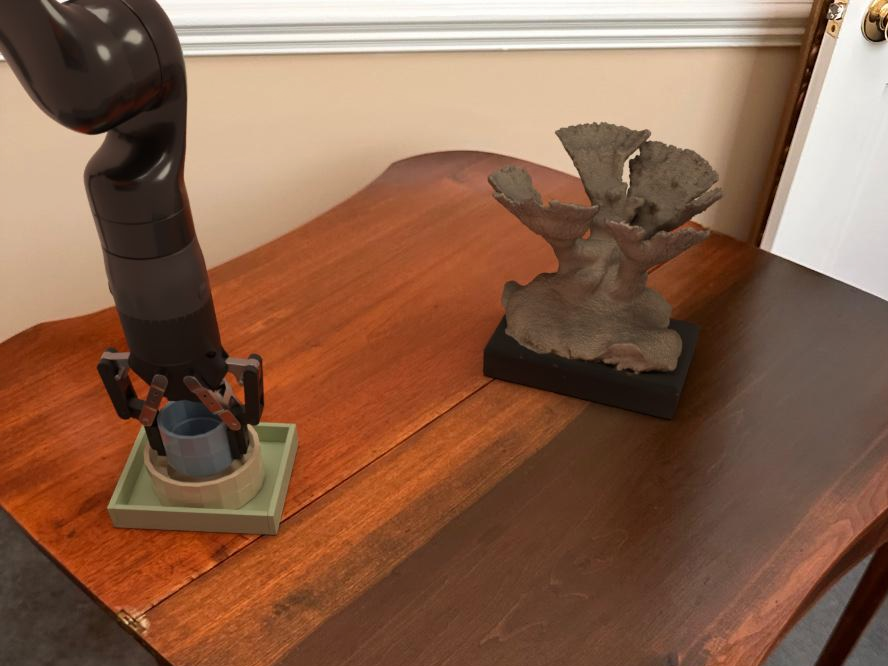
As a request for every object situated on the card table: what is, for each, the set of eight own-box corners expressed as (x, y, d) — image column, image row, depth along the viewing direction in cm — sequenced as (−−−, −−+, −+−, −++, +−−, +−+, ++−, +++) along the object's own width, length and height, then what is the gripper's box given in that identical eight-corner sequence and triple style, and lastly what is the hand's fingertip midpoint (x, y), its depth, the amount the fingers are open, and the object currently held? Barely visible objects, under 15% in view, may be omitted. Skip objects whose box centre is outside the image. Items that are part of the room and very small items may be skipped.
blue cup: (161, 479, 80) (148, 436, 77) (178, 434, 85) (166, 392, 81) (230, 482, 80) (221, 440, 77) (244, 437, 84) (235, 395, 81)
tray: (114, 527, 81) (106, 508, 79) (151, 436, 89) (145, 416, 87) (276, 535, 81) (273, 515, 79) (298, 442, 89) (295, 423, 87)
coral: (452, 368, 98) (458, 174, 82) (511, 280, 110) (527, 97, 94) (670, 424, 92) (723, 229, 76) (707, 326, 105) (760, 139, 88)
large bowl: (142, 518, 82) (130, 483, 78) (170, 445, 88) (160, 409, 85) (254, 524, 82) (247, 488, 78) (274, 450, 88) (268, 414, 85)
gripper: (260, 270, 72) (284, 430, 84) (86, 262, 72) (137, 423, 84) (242, 321, 67) (271, 483, 80) (56, 312, 67) (114, 475, 80)
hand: (202, 451), depth 82 cm, fingers closed on blue cup, 6 cm apart
